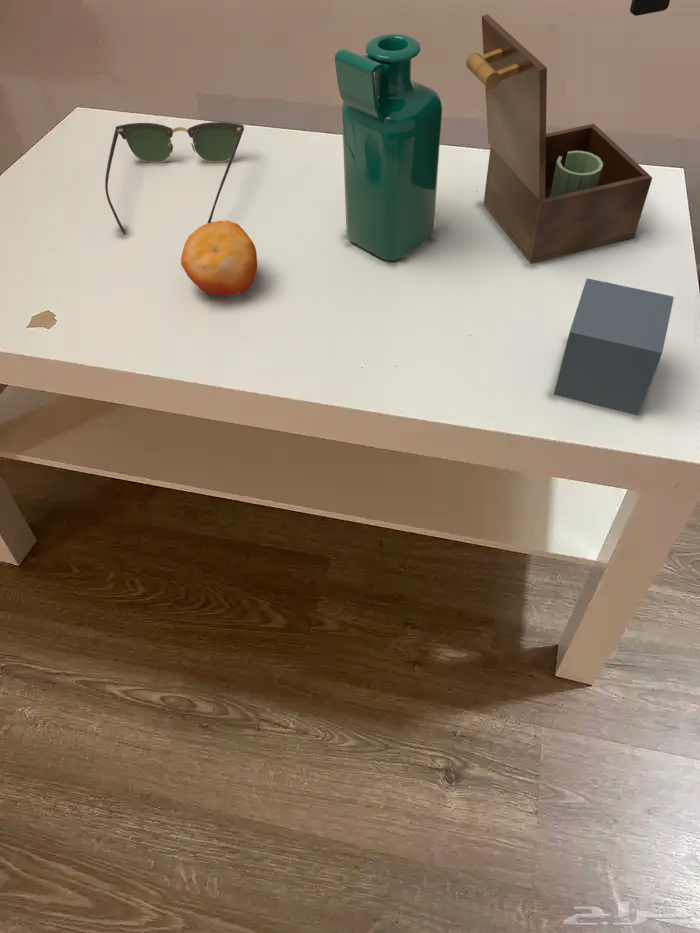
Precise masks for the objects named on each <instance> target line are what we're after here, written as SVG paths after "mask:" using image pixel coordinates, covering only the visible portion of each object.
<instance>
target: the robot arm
mask: <svg viewBox="0 0 700 933" xmlns="http://www.w3.org/2000/svg"><path fill="white" fill-rule="evenodd" d="M630 3H631V4H630V6H629V7H630V8H629V12H630V13H631V14H632V15H633V16H634V17H638V16H643V15H648V14H654V13H658V12H659V13H660V12H664V11H666V10H667V9H668V8H669V6H670V3H671V0H631V2H630Z"/></svg>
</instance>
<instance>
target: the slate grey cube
mask: <svg viewBox="0 0 700 933" xmlns="http://www.w3.org/2000/svg"><path fill="white" fill-rule="evenodd" d="M674 299H675V296H673V295H669V294H664V293H659V292H654V291H649V290H645V289H639V288H635V287H630V286H626V285H621V284H616V283H611V282H607V281H602V280H597V279H594V278H593V279H592V278H586V279H585V282H584V284H583V288H582V292H581V295H580V298H579V301H578V304H577V307H576V310H575V314H574V316H573V320H572V323H571V327H570V328H569V329H570V330H569V333H568V337H567V341H566V344H565V348H564V353H563V355H562V360H561V364H560V368H559V371H558V375H557V380H556V384H555V387H554V390H553V395H556V396H560V397H563V398H567V399H571V400H576V401H580V402H584V403H588V404H592V405H596V406H600V407H604V408H608V409H612V410H616V411H620V412H624V413H628V414H632V415H636V416H638V415H639V413H640V411H641V409H642V406H643V403H644V401H645V398H646V396H647V394H648V391H649V388H650V385H651V383H652V380H653V379H654V375H655V372H656V371H657V368H658V365H659V362H660V360H661V357H662V355H663V351H664V346H665V342H666V337H667V332H668V328H669V322H670V319H671V314H672V308H673V305H674V304H673V303H674Z"/></svg>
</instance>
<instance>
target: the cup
mask: <svg viewBox="0 0 700 933" xmlns="http://www.w3.org/2000/svg"><path fill="white" fill-rule="evenodd" d="M561 161H562V157H561V156H559V157H558V160H557V163H556V168H555V173H554V178H553V183H552V188H551V193H550V197H554V196H559V195H563V194H567V193H572V192H576V191H580V190H585V189H589V188H593V187H597V186H598V184H599V180H600V176H601V172H602V168H603V162H602V161H601V159H600V158H599V157H598V156H596V155H594V154H592V153H589V152H584V151H569V152H567V157H566V162H565V167H563V166H562V164H561Z"/></svg>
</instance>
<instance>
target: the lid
mask: <svg viewBox="0 0 700 933" xmlns="http://www.w3.org/2000/svg"><path fill="white" fill-rule="evenodd" d="M481 31H482V33H481V34H482V35H481V36H482V52H483V54H480V53H479V52H472V53H470V54H469V56H468V57H467V58H466V61H465V66H466V68H467V69H468V70H469V71H470V72H471V73H472V74H473V75H474V76H475V77H476V79H478V80H479V82H481V83H482V84H483V85H484V88H485V89H484V90H485V110H486V111H485V112H486V128H487V144H488V145H489V146H491V147H492V148H493V149H494V150H495V151H496V153H497V154H498V155H499V156H500V157H501V158H502V159H503V161H504V162H505V163H506V164H507V165H508V166H509V167H510V168H511V170H512V171H513V172H514V173H515V174H516V175H517V176H518V177H519V179H520V180H521V181H522V182H523V183H524V184H525V185H526V186H527V188H528V189H529V190H530V191H531V192H532V193H533V194H534V196H535V197H536V198H537V199H538V200H539V201H540V200H543V199H545V173H546V134H547V101H548V100H547V98H548V95H547V94H548V93H547V91H548V88H547V87H548V86H547V85H548V68H547V66H546V65H545V64H544V63H542V62H541V60H539V59H538V58H537V57H536V56H535V55H534V54H533V53H531V52H530V51H529V50H528V49H527V48H526V47H525V46H524V45H523V44H521V43H520V42H519V41H518V40H517V39H516V38H515V37H514V36H512V35H511V33H509V32H508V31H507V30H506V29H505V28H504V27H503V26H501V25H500V23H498V22H497V21H496V20H495V19H494V18H492V16H491V15H489V13H487V14H484V15H481Z"/></svg>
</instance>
